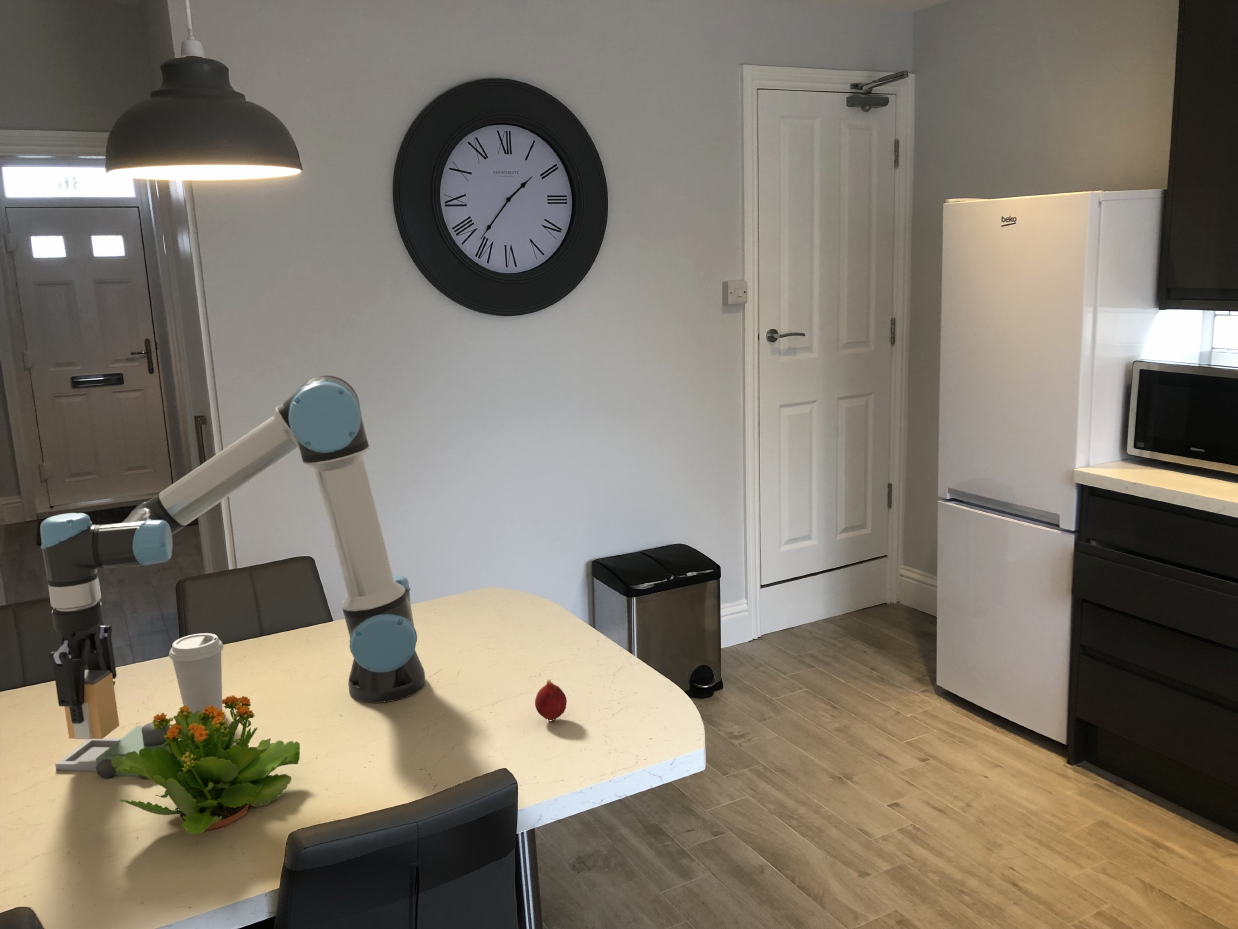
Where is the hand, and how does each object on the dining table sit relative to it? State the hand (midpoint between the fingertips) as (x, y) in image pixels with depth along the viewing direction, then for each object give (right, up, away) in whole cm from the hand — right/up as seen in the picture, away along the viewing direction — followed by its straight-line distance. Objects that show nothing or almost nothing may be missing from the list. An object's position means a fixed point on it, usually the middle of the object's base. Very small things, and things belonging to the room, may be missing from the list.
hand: (94, 730), depth 167 cm
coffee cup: (+12, -2, +17) cm, 21 cm away
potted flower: (+29, -8, -19) cm, 35 cm away
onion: (+80, -1, +9) cm, 80 cm away
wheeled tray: (+5, -5, +1) cm, 7 cm away
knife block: (0, 0, 0) cm, 0 cm away
